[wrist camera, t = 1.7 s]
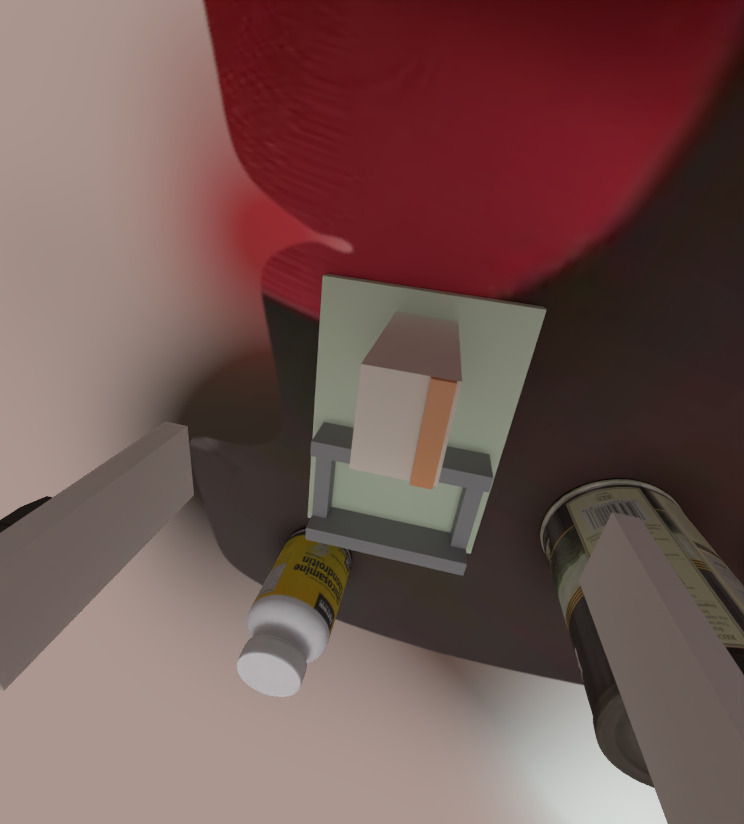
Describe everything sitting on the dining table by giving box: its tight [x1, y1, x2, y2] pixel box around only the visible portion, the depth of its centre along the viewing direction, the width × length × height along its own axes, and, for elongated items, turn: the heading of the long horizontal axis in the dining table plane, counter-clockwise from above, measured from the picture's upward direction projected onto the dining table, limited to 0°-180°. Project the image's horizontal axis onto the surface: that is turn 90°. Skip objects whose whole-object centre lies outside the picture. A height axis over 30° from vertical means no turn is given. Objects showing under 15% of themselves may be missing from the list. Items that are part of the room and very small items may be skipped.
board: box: [305, 274, 546, 576], centre depth 28 cm, size 20×14×4 cm
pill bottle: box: [237, 529, 351, 697], centre depth 32 cm, size 6×6×12 cm
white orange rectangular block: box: [349, 311, 462, 490], centre depth 21 cm, size 5×4×11 cm
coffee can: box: [540, 479, 744, 788], centre depth 25 cm, size 10×10×14 cm
